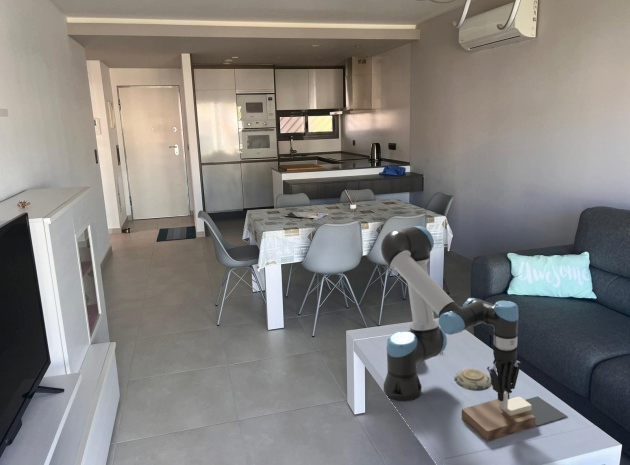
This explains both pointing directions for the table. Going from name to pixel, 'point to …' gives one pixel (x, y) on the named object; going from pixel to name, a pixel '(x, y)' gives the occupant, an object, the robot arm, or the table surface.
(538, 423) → the mat
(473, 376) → the decorative bowl
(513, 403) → the tile
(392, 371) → the robot arm
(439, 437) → the table surface
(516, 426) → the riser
